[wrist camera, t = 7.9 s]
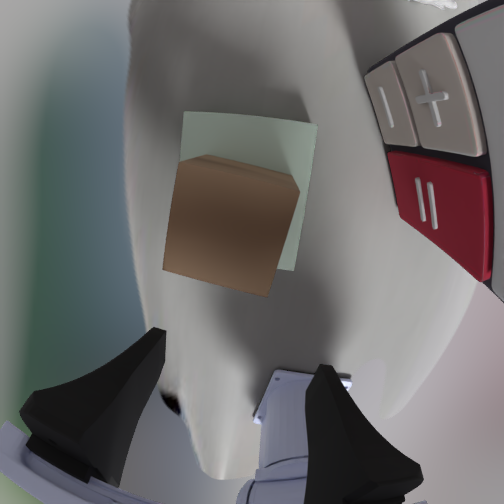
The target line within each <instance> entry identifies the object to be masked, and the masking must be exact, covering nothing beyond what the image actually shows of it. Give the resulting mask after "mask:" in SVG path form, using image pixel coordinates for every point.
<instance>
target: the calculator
mask: <svg viewBox="0 0 504 504" xmlns="http://www.w3.org/2000/svg"><path fill="white" fill-rule="evenodd" d="M364 79H365V82H366V85H367V88H368V91H369V94H370V97H371V100H372V103H373V106H374V109H375V112H376V115H377V119H378V122H379V126H380V129H381V133H382V136H383V140H384V142H385V143H386V144H390V147H391V152H388V153H387V155H388V160H389V164H390V169H391V173H392V178H393V183H394V188H395V193H396V198H397V204H398V210H399V215H400V217H401V218H402V219H403V220H404V221H406V222H407V223H408V224H410V225H411V226H412V227H414V228H415V229H416V230H418V231H419V232H420V233H421V234H423V235H424V236H425V237H427V238H428V239H429V240H430V241H432V242H433V243H434V244H435V245H437V246H438V247H439V248H440V249H442V250H443V251H444V252H445V253H447V254H448V255H449V256H450V257H451V258H452V259H454V260H455V261H456V262H457V263H458V264H460V265H461V266H462V267H463V268H464V269H465V270H466V271H467V272H469V273H470V274H471V275H472V276H473V277H474V278H475V279H476V280H478V281H479V282H483V284H485V285H486V286H487V287H488V288H489V289H490V290H491V291H492V292H493V293H494V294H495V295H496V296H497V297H498V298H499V299H500V300H501V301H502V302H503V303H504V0H488V1H485V2H483V3H481V4H479V5H477V6H475V7H473V8H471V9H469V10H467V11H465V12H463V13H461V14H459V15H457V16H455V17H453V18H451V19H449V20H448V21H446V22H444V23H442V24H440V25H439V26H437V27H435V28H433V29H431V30H430V31H428V32H426V33H425V34H423V35H421V36H419V37H418V38H416V39H414V40H413V41H411V42H410V43H408V44H406V45H405V46H403V47H401V48H400V49H398V50H397V51H395V52H394V53H392V54H390V55H389V56H387V57H386V58H384V59H383V60H381V61H380V62H378V63H377V64H375V65H374V66H372V67H371V68H369V69H368V74H367V75H365V77H364Z"/></svg>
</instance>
